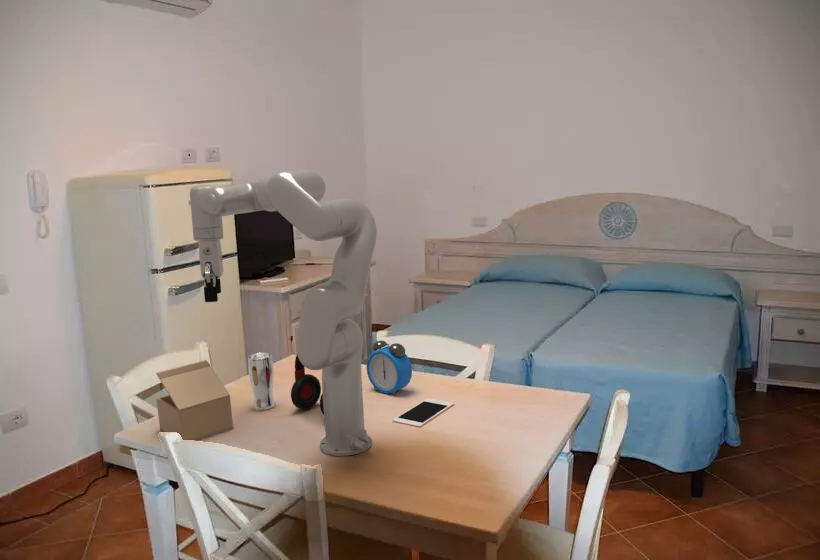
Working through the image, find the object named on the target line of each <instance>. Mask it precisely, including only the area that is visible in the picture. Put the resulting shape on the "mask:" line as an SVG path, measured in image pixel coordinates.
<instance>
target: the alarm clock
mask: <svg viewBox="0 0 820 560" xmlns="http://www.w3.org/2000/svg"><path fill="white" fill-rule="evenodd" d="M371 351H372V352H371V354H370V355H369V356H368V358H367V361H366V373H367V377H368V379H369V382H370V384H371V385H372V386H373V387H374V388H375V389H376V392H381V393H382V394H393V396H396V393H395V392H397V391H399V390H401V389H404V388H405V387H407V386H408V385H409V383H410V382H411V379H412V376H413V375H412V374H413V368H412V364H411V361H410V358H409V356H408V355H407V354H406V348H405V347H404V346H403V345H402V344H401V343H397V342H395V343H392V344H390V343H387V342H386V341H385V340H376V341H375V342H374V343H373V344H372V345H371Z"/></svg>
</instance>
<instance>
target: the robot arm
mask: <svg viewBox="0 0 820 560" xmlns="http://www.w3.org/2000/svg"><path fill="white" fill-rule="evenodd" d="M325 193H326V183H325V181H324V179H323V177H322V176H321V175H320V174H319V173H317V172H315V171H313V170H309V169H298V170H288V171H280V172H277V173H276V174H272V175H266V176H263V177H261V178H260V179H259V180H258V181H253V182H246V183H236V184H225V185H211V184H210V185H209V184H207V185H206V184H203V185H194V186H192V187H191V188H190V190H189V200H190V202H189V203H190V212H191V213H190V214H191V222H192V223H191V225H192V237H193V241H197V242H198V255H199V267H200V276H201V278H202V279H203V295H204V303H217V302H218V300H219V298H218V294H222V293H221V292H222V287H221V285H222V284H221V277H222V275H223V273H224V263H223V253H222V243H221V240H222V239H224V226H223V217H229V216H233V215H239V214H240V215H241V214H248V213H253V212H260V211H267V212H278V214H280V215H281V216H282V217H283V218H284V219H286V220H287V221H288V222H289V223H290V224H291V225H292V226H293V227H294V228H296V230H298V231H299V232H300V234H302V235H304V236H305V237H306V238H308V239H310V240H311V241H314V242H325V241H329V240H333V239H338V238H342V239H341V243H340V245H339V246H338V248H337V250H336V251H335V255H334V257H333V262H332V269H331V274H330V276H329V278H328V280H327V281H324V282H322V283H318V284H316V285H314V286H313V287H311V288H310V289H309V290H308V291H307V293H306V294H305V295H304V298H303V301H302V304H301V310H300V317H299V321H298V330H297V337H296V344H295V346H296V356H297V355H298V358H299V360H300V362H301V363H302V364H303V365H304V366H305V367H304V368H305V369H309V371H310V370H312V371H319V370H321V394H322V393H323V406H324V415H323V417H324V430H325V436H324V437H323V438H322V439H321V440H320V442H319V447H320V450H321V451H322V452H323V453H325V454H327V455H330V456H335V457H345V456H353V455H357V454H358V455H359V454H360V453H363V452H366V451H367V450H368V449H369V448H371V446H372V444H373V440H372V439H373V438H372V437H371V436H370V434H369V433H368V432H367V429H366V428H365V414H364V399H363V398H364V397H363V380H362V377H363V376H362V355H363V349H364V348H363V347H364V336H363V331H362V328H361V327H360V326H359V324H358V323H357V322H356V321H354V320H353V319H351V318H352V317H354V316H356V315H358V314H359V313H360V312H361V311H362V309H363V307H364V304H365V299H366V294H367V290H368V289H367V288H368V283H369V277H370V270H371V269H370V268H371V264H372V259H373V255H374V252H375V251H374V250H375V247H376V241H377V233H378V232H377V224H376V221H375V217H374V215H373V213H372V212H371V210H370V209H369V208H368V206H366V205H365V204H364V203H363V202H362V201H360V200H358V199H355V198H354V199H353V198H338V199H331V200H325V201H321V200H322V199H324V196H325Z"/></svg>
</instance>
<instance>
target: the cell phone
mask: <svg viewBox="0 0 820 560" xmlns="http://www.w3.org/2000/svg"><path fill="white" fill-rule="evenodd" d="M453 406H455V402H452V401H446V400H440V399H435V398H430V397H429V398H428V397H427V398H425V399H424V400H422V401H420V402H419V403H417V404H416V405H414V406H413V407H411V408H409V409H408V410H405V412H403V413H400V414H399V415H398V416H395V418H393V419H392V423H395V424H399V425H405V426H409V427H415V428H422V427H423V426H425V425H427V424H428V423H430V422H432V420H434V419H435V418H437V417H439V416H440V415H442V414H443V413H444V412H446V411H447V410H449V409H450V408H452V407H453Z"/></svg>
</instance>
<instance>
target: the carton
mask: <svg viewBox="0 0 820 560" xmlns="http://www.w3.org/2000/svg"><path fill="white" fill-rule="evenodd" d="M155 399H156V407H157V415H158V424H159V430H160V431H161V432H162V433H164V432H177V433H179V434H180V435H181V437H182V439H183V440H197V441H200V440H202V439H206V438H208V437H212V436H216V435H217V434H218V435H219V434H220V433H223V432H226V431H231V430H233V429H234V424H233V423H234V422H233V413H232V412H233V411H232V405H231V404H232V403H231V395H230V396H229V397H225V398H222V399H219V400H215V401H212V402H209V403H205V404H202V405H198V406H195V407H192V408H188V409H185V410H182V411H179V410H178V409H177V407H176V406H175V404H174V402H173V401H172V399H171V397H170V396H169V394H166V395H163V396H160V397H157V398H155Z"/></svg>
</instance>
